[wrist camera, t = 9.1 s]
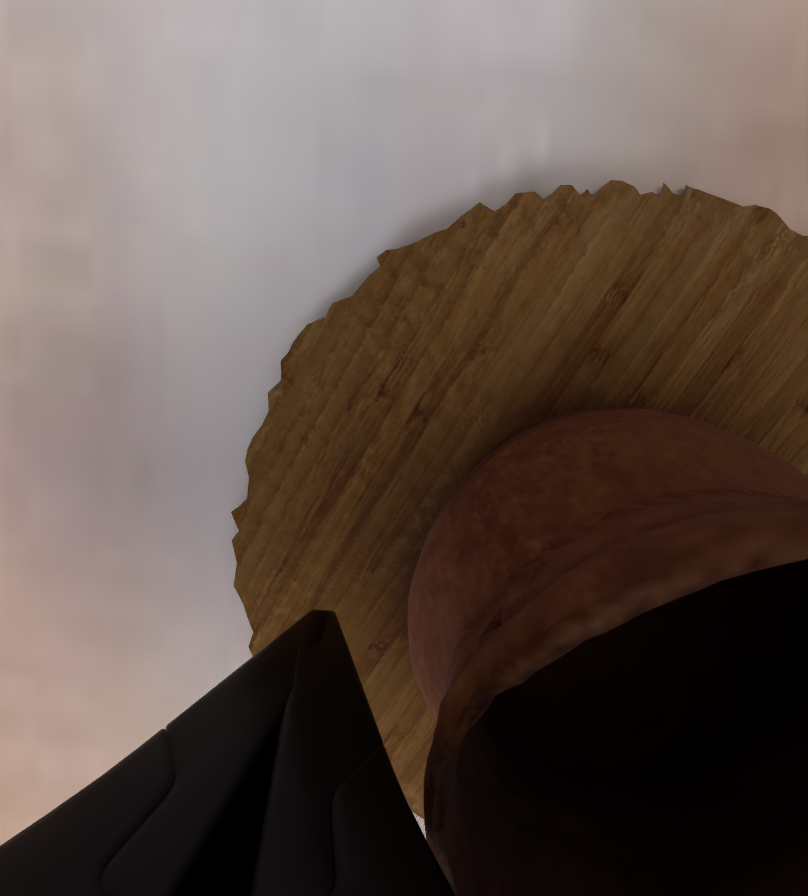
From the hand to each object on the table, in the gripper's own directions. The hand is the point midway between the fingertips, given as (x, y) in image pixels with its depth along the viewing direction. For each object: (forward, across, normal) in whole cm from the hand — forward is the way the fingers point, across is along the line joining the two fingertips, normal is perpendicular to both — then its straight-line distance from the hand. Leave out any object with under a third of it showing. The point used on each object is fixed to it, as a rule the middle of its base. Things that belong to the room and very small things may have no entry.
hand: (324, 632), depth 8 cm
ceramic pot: (+4, -6, 0) cm, 7 cm away
